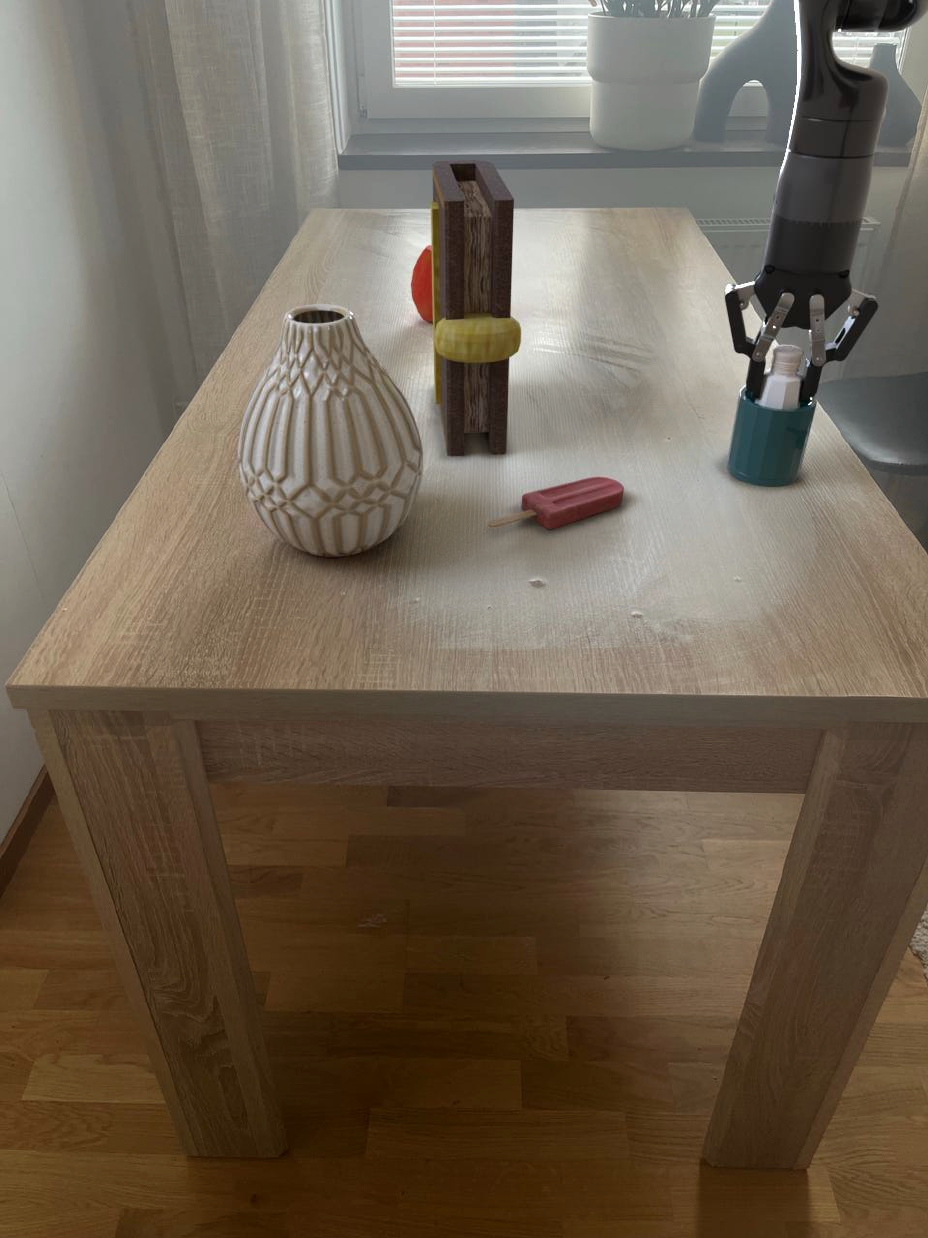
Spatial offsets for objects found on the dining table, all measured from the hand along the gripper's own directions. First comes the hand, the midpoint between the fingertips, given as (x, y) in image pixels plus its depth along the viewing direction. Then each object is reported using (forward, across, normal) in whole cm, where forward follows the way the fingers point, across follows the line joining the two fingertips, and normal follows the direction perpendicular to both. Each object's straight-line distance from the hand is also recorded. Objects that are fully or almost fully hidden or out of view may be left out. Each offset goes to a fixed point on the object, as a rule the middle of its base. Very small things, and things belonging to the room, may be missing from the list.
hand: (779, 396), depth 90 cm
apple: (+8, -44, +39) cm, 59 cm away
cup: (+8, 0, 0) cm, 8 cm away
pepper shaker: (+6, 0, 0) cm, 6 cm away
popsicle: (+8, -20, -14) cm, 25 cm away
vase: (+8, -38, -22) cm, 45 cm away
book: (+8, -32, +5) cm, 33 cm away
